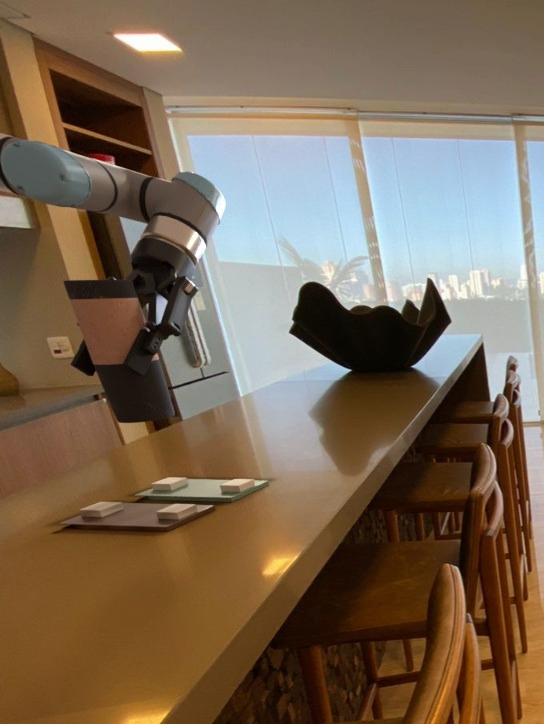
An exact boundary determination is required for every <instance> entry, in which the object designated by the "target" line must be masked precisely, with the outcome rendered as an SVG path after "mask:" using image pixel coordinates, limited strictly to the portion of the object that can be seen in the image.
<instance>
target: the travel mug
mask: <svg viewBox="0 0 544 724" xmlns="http://www.w3.org/2000/svg"><path fill="white" fill-rule="evenodd" d="M63 285H64V288H65V291H66V294H67V297H68V299H69V302H70V305H71V307H72V310H73V314H74V315H75V316H74V317H75V318H76V321H77V323H78V324H79V326H78V327H79V329H80V332H81V334H82V337H83V339H84V340H85V343H86V346H87V348H88V351H89V354H90V357H91V359H92V362H93V364H94V367H95V370H96V371H95V373H96V374H97V376H98V379H99V381H100V384H101V386H102V389H103V391H104V393H105V396H106V398H107V401H108V403H109V405H110V407H111V411H112V412H113V415H114V417H115V419H116V421H117V422H118V423H120V424H136V423H137V424H138V423H148V422H155V421H159V420H164V419H165V420H166V419H169V418H172V417H174V416H176V412H175V408H174V405H173V402H172V397H171V395H170V391H169V387H168V384H167V381H166V378H165V374H164V371H163V367H162V364H161V361H160V357H159V355H158V353H157V354H156V355H154V357H153V359H152V361H151V363H150V365H149V367H148V369H147V371H146V373H145V375H144V376H138V375H136V374H135V373H133V372H132V371H131V370H129V369H128V368H126V367H125V366H123V365H122V364H123V362H124V360H125V359H126V357H127V355H128V353H129V351H130V349H131V347H132V345H133V343H134V341H135V339H136V337H137V335H138V333H139V331H140V329H146V330H147V331H150V330H149V329H148V328H147V327H146V326H144V325H143V324H145V323H147V320H146V316H145V315H144V311H143V309H142V308H141V305H140V302H139V299H138V298H137V294H136V291H135V288H134V285H133V281H132V280H124V279H116V280H106V279H71V280H69V279H67V280H63ZM145 325H146V324H145Z"/></svg>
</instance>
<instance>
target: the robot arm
mask: <svg viewBox="0 0 544 724" xmlns="http://www.w3.org/2000/svg"><path fill="white" fill-rule="evenodd" d="M0 192H4V193H7V194H12V195H16V196H21V197H24V198H27V199H31V200H34V201H38V202H40V203H42V204H45V205H50V206H55V207H59V208H70V209H76V210H83V211H87V212H92V213H98V214H104V215H109V216H114V217H120V218H123V219H127V220H131V221H134V222H138V223H143V224H146V226H145V228H144V229H143V231H142V232H141V234H140V237H139V239H138V241H137V243H136V244H135V246H134V248H133V250H132V251H131V253H130V255H129V261H130V264H131V268H132V270H131V271H130V272H129V273H128V274H127V275H125V278H124V279H123V280H132V281H133V285H134V288H135V291H136V294H137V298H138V299H139V302H140V305H141V308H142V310H143V309H144V308H145V307H146V306H147V321H146V323H145V324H146V325H145V324H143V325H144V326H146V327H147V328H148V329H149V331H147V330H146V329H140V331H139V333H138V335H137V337H136V339H135V341H134V343H133V345H132V347H131V349H130V351H129V353H128V355H127V357H126V359H125V360H124V362H123V364H122V365H123V366H125V367H126V368H128V369H129V370H131V371H132V372H133V373H135V374H136V375H138V376H144V375H145V373H146V371H147V369H148V367H149V365H150V363H151V361H152V359H153V357H154V355H156V354H158V353H159V351H160V349H161V346H162V344H163V343H164V341H166V340H168V339H169V338H170V336H173V337H178V338H179V337H180V336H181V335H182V333H183V330H184V327H185V323H186V320H187V317H188V314H189V310H190V306H191V305H192V300H193V298H194V296H195V295H197V293H198V291H199V288H198V287H197V286H196V285H195V284H194V283H193V282H192V281H191V280H192V278H193V277H194V274H195V272H196V268H197V267H198V265H199V263H200V261H201V259H202V257H203V254H204V253H205V250H206V249H207V247H208V244H209V242H210V240H211V238H212V236H213V234H214V233H215V231H216V229H217V227H218V225H220V224H221V221H222V216H223V213H224V211H225V209H226V199H225V197H224V195H223V194H222V192H221V190H220V189H219V188H218V187H217V186H216V185H215V184H214V183H213V182H211V180H209V179H208V178H206V177H204V176H202V175H201V174H198V173H197V172H196V173H195V172H193V171H180V172H177V173H176V174H175V175H174V176H172V178H171V180H170V181H169V180H166V179H163V178H159V177H155V176H150V175H147V174H143V173H141V172H137V171H135V170H131V169H128V168H125V167H122V166H118V165H115V164H112V163H109V162H107V161H104V160H100V159H97V158H92V157H88V156H85V155H81V154H78V153H75V152H72V151H70V150H66V149H63V148H61V147H60V146H56V145H54V144H53V145H52V144H49V143H46V142H42V141H37V140H30V139H29V140H28V139H24V138H19V137H15V136H13V135H10V134H7V133H2V132H0ZM105 280H117V279H116V278H115V277H114V276H108V277H107V278H106V279H105ZM76 326H78V327H79V324H78V322H76ZM69 365H70V366H72V367H73V368H74V369H76V370H77V371H79V372H81V373H83V374H84V375H86V376H87V377H94V375H95V374H96V370H95V367H94V364H93V362H92V359H91V357H90V354H89V351H88V348H87V346H86V343H85V340H84V338H83V339H82V341H81V343H80V344H79V348H78V350H77V352H76V353H75V355H74V356H73V359H72V360H71V363H70V364H69Z"/></svg>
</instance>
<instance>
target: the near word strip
mask: <svg viewBox="0 0 544 724" xmlns="http://www.w3.org/2000/svg"><path fill="white" fill-rule="evenodd" d="M214 511H216V507H215V504H214V505H213V504H196V503H194V504H193V503H141V502H139V503H137V502H120V501H119V502H118V501H99V502H97V503H94V504H91V505H89V506H86V507H83V508H80V509H78V512H79V514H80V515H77V516H75V517H72V518H69V519H66V520H64V521H60V522H59V524H63V525H64V524H66V525H67V526H64V527H62V529H71V530H72V529H73V530H104V531H131V532H133V531H134V532H135V531H136V532H166V533H167V532H171V531H172V530H174V529H175V530H176V529H177V528H179V527H181V526H183V525H185V524H187V523H190V522H192V521H195V520H197V519H198V518H201V517H203V516H205V515H207V514H209V513H211V512H214Z"/></svg>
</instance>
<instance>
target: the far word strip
mask: <svg viewBox="0 0 544 724" xmlns="http://www.w3.org/2000/svg"><path fill="white" fill-rule="evenodd" d="M150 485H151V488H150V489H147V490H144V491H142V492H139V493H136V494H135V496H142V497H140V498H137V500H139V501H140V500H141V501H143V500H144V501H176V502H177V501H179V502H182V501H183V502H217V503H218V502H220V503H221V502H222V503H233V502H235V501H238V500H240V499H241V498H244V497H246V496H248V495H251V494H252V493H255V492H256V491H259V490H261V489H264V488H265V487H268V486H269V485H270V483H269V480H255V479H254V478H234V479H209V478H208V479H207V478H206V479H205V478H204V479H203V478H188V477H175V476H173V477H172V476H170V477H169V476H168V477H166V478H163V479H160V480H158V481H155V482H152V483H150Z"/></svg>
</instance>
